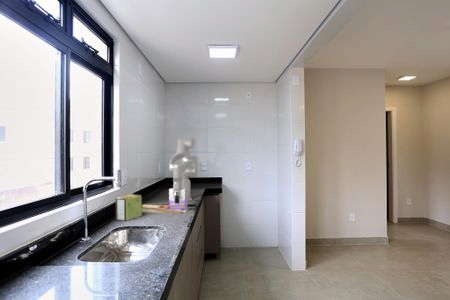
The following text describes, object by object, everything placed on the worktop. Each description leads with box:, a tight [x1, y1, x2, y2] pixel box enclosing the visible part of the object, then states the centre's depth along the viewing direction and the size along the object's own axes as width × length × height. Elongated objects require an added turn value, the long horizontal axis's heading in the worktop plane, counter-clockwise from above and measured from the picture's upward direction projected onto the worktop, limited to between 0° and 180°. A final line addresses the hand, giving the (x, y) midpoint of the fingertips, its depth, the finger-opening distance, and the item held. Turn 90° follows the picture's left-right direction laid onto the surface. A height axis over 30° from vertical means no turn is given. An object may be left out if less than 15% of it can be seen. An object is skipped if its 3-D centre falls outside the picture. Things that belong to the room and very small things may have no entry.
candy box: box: [168, 187, 188, 210], centre depth 207 cm, size 14×6×16 cm, turn 84°
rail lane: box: [142, 203, 183, 214], centre depth 209 cm, size 15×38×2 cm, turn 83°
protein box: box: [115, 194, 143, 222], centre depth 187 cm, size 10×15×16 cm
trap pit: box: [156, 204, 169, 209], centre depth 208 cm, size 11×7×3 cm, turn 173°
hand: (178, 201), depth 207 cm, fingers closed on candy box, 5 cm apart
